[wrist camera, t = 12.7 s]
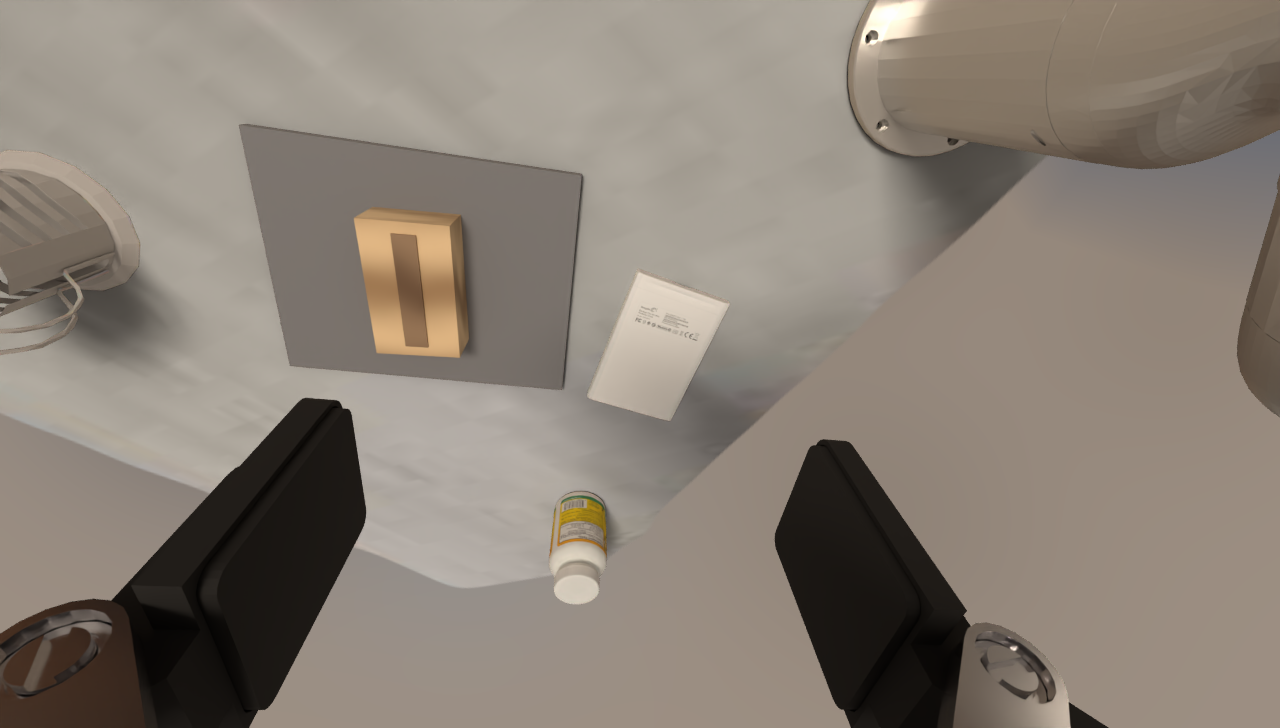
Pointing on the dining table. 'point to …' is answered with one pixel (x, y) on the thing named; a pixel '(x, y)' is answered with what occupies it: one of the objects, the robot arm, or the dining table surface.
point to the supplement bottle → (578, 547)
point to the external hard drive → (656, 346)
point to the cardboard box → (414, 281)
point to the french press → (58, 236)
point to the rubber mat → (421, 181)
